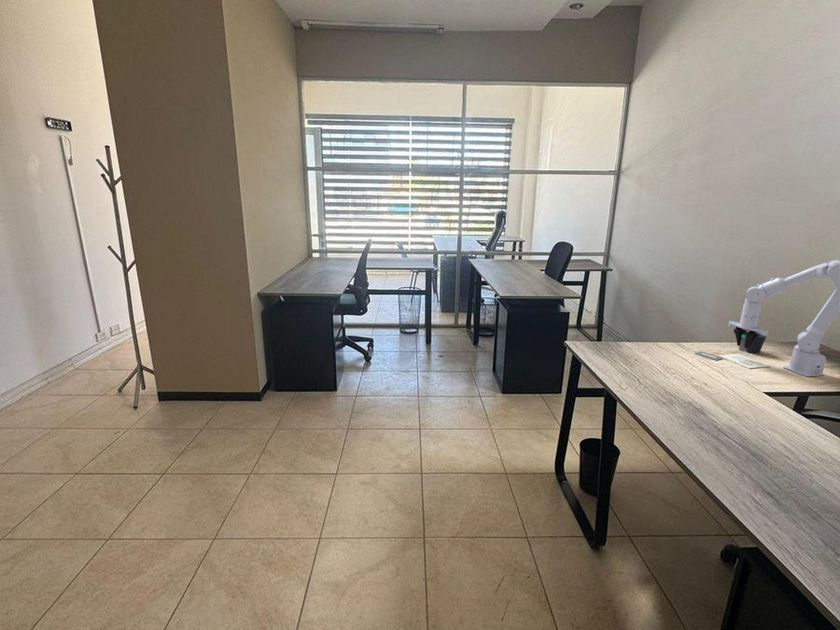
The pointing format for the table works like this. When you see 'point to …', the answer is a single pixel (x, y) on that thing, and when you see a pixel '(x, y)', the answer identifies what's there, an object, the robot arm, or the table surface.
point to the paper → (743, 361)
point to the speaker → (757, 344)
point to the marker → (742, 343)
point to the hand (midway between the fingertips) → (743, 346)
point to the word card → (709, 355)
